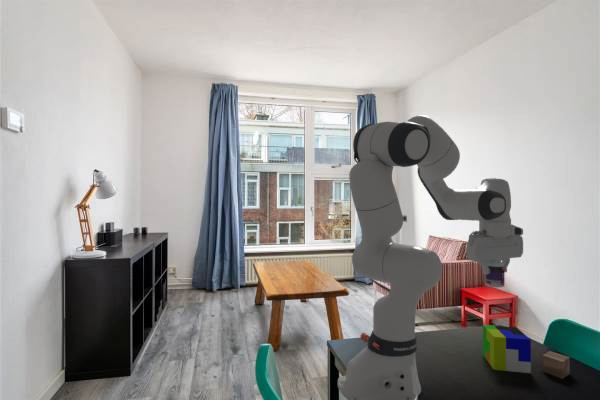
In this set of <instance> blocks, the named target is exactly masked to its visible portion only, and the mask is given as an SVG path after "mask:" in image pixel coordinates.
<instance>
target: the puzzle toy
mask: <svg viewBox="0 0 600 400" xmlns="http://www.w3.org/2000/svg"><path fill="white" fill-rule="evenodd" d="M531 342H532V339H531V338H530V337H528V336H527V335H526V334H525V333H524V332H522V330H520V329H519V328H518V327H517V326H516V327H515V326H503V325H488V324H487V325H486V324H483V325H482V355H483V357H484V360H486V362H487V363H488V364H489V365H490V367H491V368H492V370H495V371H504V372H513V373H514V372H515V373H525V374H531V373H532V371H531V369H532V367H531V365H532V364H531V363H532V355H531V354H532V353H531V352H532V343H531Z"/></svg>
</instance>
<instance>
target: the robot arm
mask: <svg viewBox="0 0 600 400" xmlns="http://www.w3.org/2000/svg"><path fill="white" fill-rule="evenodd" d="M352 142H353V143H352V146H353V147H352V148H353V153H354V154H353V159H354V162H355V164H354V165H353V166H352V167H351V169H350V170H349V173H348V175H349V185H350V187H349V188H350V192H351V197H352V201H353V205H354V208H355V212H356V214H357V218H358V221H359V225H360V229H361V240H360V243H359V244H357V245H356V247H355V249H353V252H352V256H351V264H352V266H353V269H354V271H355V272H356V273H357V274H359V275H361V276H362V277H365V278H367V279H370V280H372V281H376V282H377V281H378V282H383V283H386V284H389V285H390V288H389V293H388V294H386V295H384V296H382V297H380V298H378V299H377V300H376V302H374V305H373V307H372V310H373V311H372V312H373V313H372V315H373V316H372V319H373V320H372V321H373V322H372V323H373V325H372V326H373V327H372V331H371V334H370V335H368V334H367V333H365V332H362V333H361V334H360V340H362V341H363V342H364V343H367V345H366V346H365V347H364V348H363V349H361V351H360V352H358V353H357V354H356V355H355V356H354V357H353V358H351V359H350V360H349V361H348V363H347V366H346V371H345V375H343V376H342V375H341V376H340V377H338V379H337V388H338V390H339V392H340V394H342V396H343V397H344V398H345V399H347V400H419V399H418V398H419V395H420V394H421V392H422V386H421V384H420V379H419V376H418V367H417V361H416V360H417V358H416V351H417V335H416V314H417V308H418V304H419V302H420V300H421V298H422V297H423V295H425V293H427V292H428V291H429V290H431V289H433V287H435V286H437V284H438V283H439V282H440V280H441V277H442V275H443V264H442V261H441V259H440V257H439V255H438V254H437V252H436V251H433V250H431V249H428V248H425V247H422V246H418V245H410V244H401V243H395V242H394V241H393V238H392V237H393V236H395V235H397V234H398V233H399V232H400V230H401V229H402V228H403V224H404V216H403V212H402V208H401V205H400V201H399V198H398V194H397V191H396V188H395V185H394V182H393V171H394V167H400V168H406V167H407V168H408V167H413V166H417V176H418V178H419V180H420V182H421V183H422V185H423V187H424V188H425V190H426V191H427V192H428V194H429V196H430V198H431V199H432V200H433V202H434V204H435V206H436V208H437V211H438V213H439V215H440V216H441V217H442V218H443V219H445V220H447V221H460V220H461V221H477V222H479V223H478V229H479V230H473V231H472V232H471V233H470V234H469V235H468V239H467V245H466V258H467V259H468V260H469V261H471V262H479V265H480V267H481V268H482V273H483V274H484V275H485V274H491V269H490V268H489V267H488V265H487V264H488V263H489V260H496V259H498V257H499V256H501V257H502V260H501V262H502V263H504V273H507V272H508V266H509V264H510V262H511V259H515V258H516V259H517V258H521V257H522V256H523V254H524V239H523V234H524V229H523V228H522V227H519V226H517V225H514V224H512V218H511V213H510V212H511V208H512V197H511V196H512V195H511V189H510V188H511V187H510V183H509V182H508V180H505V179H503V178H502V179H501V178H496V177H495V178H494V177H492V178H489V177H488V178H485V179H482V180H481V182H480V186H478V187H476V188H475V189H455V188H451V187H449V186H448V185H447V183H446V181H445V180H444V179H445V178H447V177H449V176H450V175H451V174H452V173H454V171H455V170H456V168H458V165H459V162H460V158H461V154H460V153H461V152H460V150H459V147H458V145H457V144H456V142H455V141H454V140H453V139H452V138H451V136H450V135H449V134H448V133H447V132H446V131H445V129H444V128H443V127H441V126H440V125H439V124H438V122H436V121H435V120H433V119H432V118H431V117H429V116H427V115H424V114H423V115H422V114H420V115H419V114H418V115H415V116H413V117H411V118H409V119H408V120H406V121H403V122H402V121H401V122H400V121H398V122H397V121H383V122H377V123H369V124H367V125H363V126H362V127H361V128H359V129H358V130H357V132H355V135H354V138H353V141H352Z"/></svg>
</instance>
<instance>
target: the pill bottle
mask: <svg viewBox="0 0 600 400" xmlns="http://www.w3.org/2000/svg"><path fill="white" fill-rule="evenodd" d="M501 260H502V257H501V256H499V257H498V259H496V260H489V263H488V264H487V265H488V267H489V268H490V269H491V274H484V284H485V285H486V286H487V287H490V288H504V287H505V272H504V263H502V261H501Z"/></svg>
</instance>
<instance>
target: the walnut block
mask: <svg viewBox="0 0 600 400" xmlns="http://www.w3.org/2000/svg"><path fill="white" fill-rule="evenodd" d="M570 363H571V362H570V357H569V356H566V355H564V354H560V353H557V352H553V351H551V350H550V351H547V352H546V353H544V354H542V372H543V373H546V374H548V375H550V376H554V377H557V378H559V379H562V380H563V379H564V378H566V377H568V376H569V375H570V371H571V369H570V367H571V366H570Z"/></svg>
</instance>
